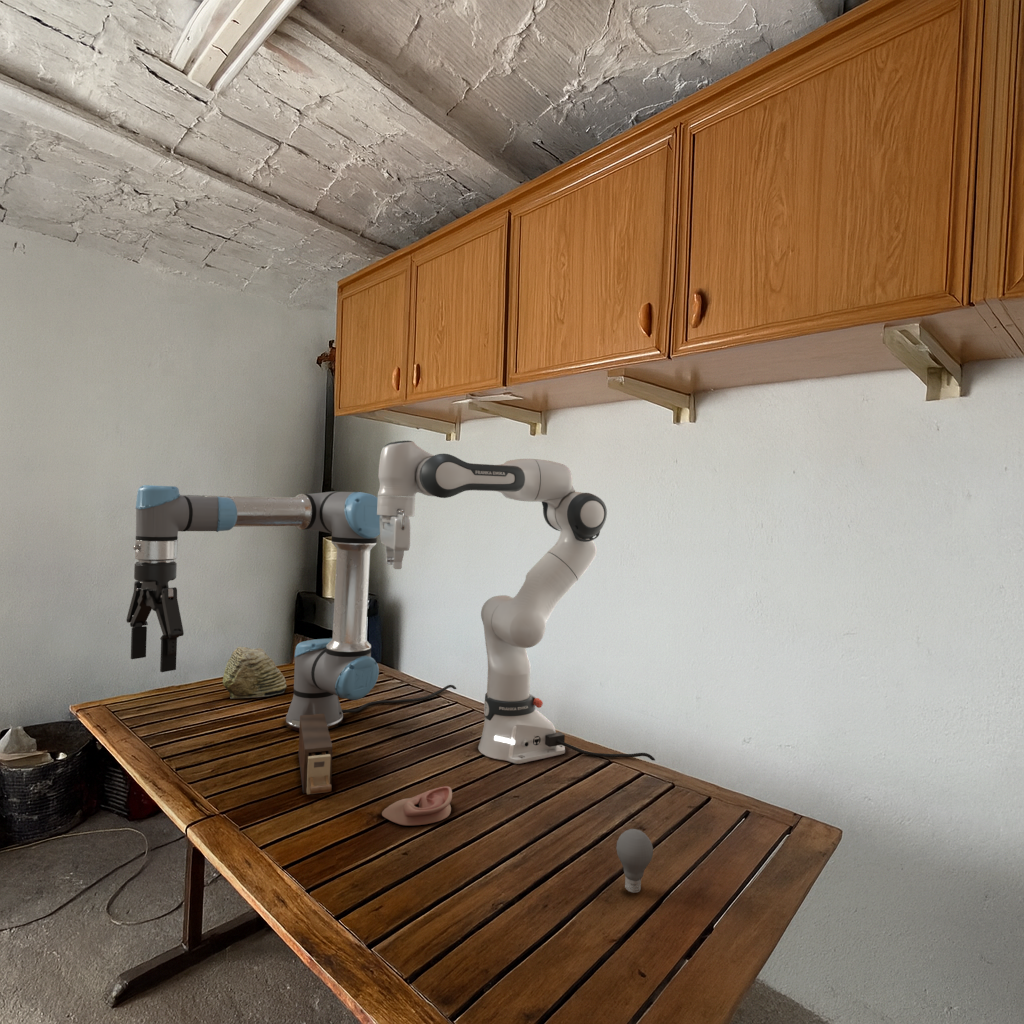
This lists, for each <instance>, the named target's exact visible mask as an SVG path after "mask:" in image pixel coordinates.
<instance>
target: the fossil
mask: <svg viewBox="0 0 1024 1024" xmlns="http://www.w3.org/2000/svg"><path fill="white" fill-rule="evenodd" d="M222 676H223V677H222V685H223V687H224V688H225V690H226V691H228V693H229V698H230V699H250V698H264V697H271V696H275V695H281V694H284V693H285V691H286V689H287V687H288V686H287V680H286V678H285V676H284V674H283V673H282V672H281V669H279V668H278V667H277V665H276V663H275V662H274V660H273V659H272V658H271V657H270V656H269V655H268V654H267V653H266V652H265V650H264V649H263V648H260V647H258V648H251V647H247V646H246V647H245V646H238V647H237V648H236V649H235V650H233V651H232V653H231V656H230V657H229V659H228V660H227V663H226V666H225V668H224V671H223V675H222Z"/></svg>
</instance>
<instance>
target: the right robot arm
mask: <svg viewBox="0 0 1024 1024" xmlns="http://www.w3.org/2000/svg"><path fill="white" fill-rule="evenodd" d="M571 471H572V470H570V468H569V467H568V466H567V465H565V464H563V463H560V462H557V461H553V460H547V459H538V458H517V459H510V460H506V461H505V462H504V463H501V464H487V463H471V462H466V461H465V460H462V459H460V458H458V457H457V456H455V455H452V454H449V453H437V454H435V455H434V454H432V453H430V452H428V451H426V450H424V449H423V448H421V447H420V446H419V445H417V444H416V443H415V441H412V440H398V441H391V442H389V443H386V444H385V445H383V447H382V449H381V452H380V456H379V462H378V481H379V489H378V492H377V498H378V500H377V515H380V535H379V537H380V538H379V539H380V543H381V544H382V545H384V546H385V549H384V550H385V556H386V557H385V563H386V564H387V565H389V566H391V565H392V568H393V569H394V570H401V569H402V568H403V561H404V556H405V552H406V551H409V550H410V547H411V520H410V517H415V516H416V515H415V514H416V512H415V511H416V495H417V493H418V494H422V495H425V496H427V497H436V498H439V499H440V498H442V499H446V498H452V497H455V496H456V495H459V494H461V493H464V492H468V491H479V492H483V491H484V492H497V493H501V494H502V496H503V497H504V498H506V499H508V500H514V501H520V502H530V503H531V502H532V503H534V502H539V503H541V505H542V514H543V518H544V520H545V523H546V524H547V525H548V526H549V527H550V528H552V529H554V530H555V531H558V532H560V533H559V536H558V539H557V540H556V542H555V544H554V545H553V546H552V547H551V548H550V549H549V550H548V551H547V552H546V553H545V554H543V556H542V557H541V558H540V559H539V560H538V561H537V562H536V563H535V564H534V565H533V566H532V567H531V568H530V569H529V570H528V571H527V573H526V575H525V580H524V582H523V584H522V586H521V587H520V589H519V591H518V592H517V594H515V596H510V595H506V594H504V595H503V594H502V595H494V596H491V597H490V598H488V599H487V600H485V602H484V603H483V605H482V607H481V611H480V619H481V620H482V621H481V622H482V625H483V631H484V633H483V634H484V643H485V649H486V651H485V652H486V659H487V677H486V678H487V682H486V693H485V694H484V702H483V714H484V715H483V716H484V720H483V728H482V733H481V736H480V740H479V743H478V745H477V749H478V752H479V753H481V754H482V755H483V756H486V757H487V758H491V759H494V760H499V761H506V762H509V763H512V764H516V765H517V764H518V765H519V764H524V763H529V762H533V761H538V760H542V759H547V758H552V757H557V756H560V755H563V754H565V753H566V748H568V749H570V750H572V751H575V752H577V753H579V754H583V755H586V756H591V757H600V758H637V757H646V758H648V759H650V760H651V761H654V762H655V761H656V759H655V757H654V756H653V755H651V754H650V753H647V752H636V753H601V752H593V751H587V750H583V749H581V748H579V747H576V746H575V745H572V744H570V743H567V742H565V738H566V734H564V733H562V732H561V731H556V728H555V725H554V723H553V722H552V721H551V720H549V718H547V716H545V715H544V714H543V713H541V712H540V711H539V710H538V709H540V708H542V706H543V704H544V703H543V700H542V699H540V698H539V697H535V696H534V695H532V694H531V692H530V691H531V674H532V673H531V671H532V670H531V669H532V668H531V667H532V666H531V661H530V659H529V656H528V652H527V649H529V648H533V647H534V646H536V645H538V644H539V643H540V642H541V641H542V639H543V638H544V636H545V632H546V625H547V622H548V620H549V619H550V617H551V615H552V613H553V612H554V610H555V608H556V607H557V605H558V604H559V603H560V601H561V600H562V599H563V598H564V597H565V596H566V595H567V593H568V592H569V591H570V590H571V589H572V588H573V587H574V585H576V584H577V582H578V581H579V580H580V579H581V578H582V577H583V575H584V574H585V573H586V572H587V570H588V569H589V567H590V566H591V565H592V563H593V561H594V560H595V558H596V556H597V553H598V550H597V545H596V543H595V541H594V540H596V539H597V538H598V537H599V536H600V533H601V530H602V529H603V527H604V526H605V523H606V520H607V515H608V510H607V506H606V503H605V502H604V501H603V499H601V498H600V497H599V496H597V495H596V494H593V493H589V492H581V491H576V490H575V488H574V486H573V484H574V483H573V482H574V479H573V477H574V476H573V474H572V472H571ZM537 708H538V709H537Z"/></svg>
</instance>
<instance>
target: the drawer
mask: <svg viewBox="0 0 1024 1024" xmlns="http://www.w3.org/2000/svg"><path fill="white" fill-rule="evenodd" d="M330 760H331V756H330V754H326V752H325V751H322V752H312V753H309V756H308V769H307V793H306V795H315V794H322V793H330V792H332V788H333V787H332V783H331V784H330Z"/></svg>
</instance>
